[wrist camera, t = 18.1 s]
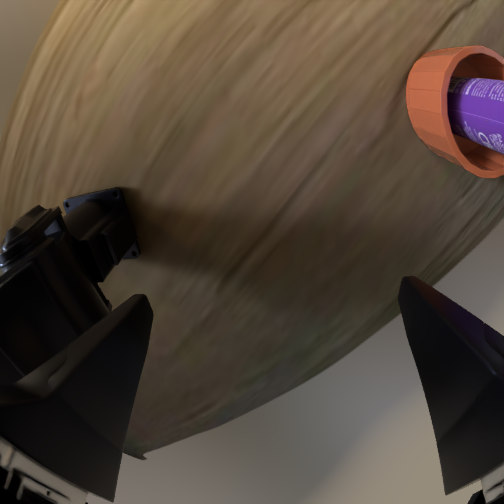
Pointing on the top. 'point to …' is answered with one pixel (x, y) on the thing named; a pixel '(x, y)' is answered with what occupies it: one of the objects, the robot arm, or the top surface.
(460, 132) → the container
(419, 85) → the orange-brown bowl
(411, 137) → the top surface
